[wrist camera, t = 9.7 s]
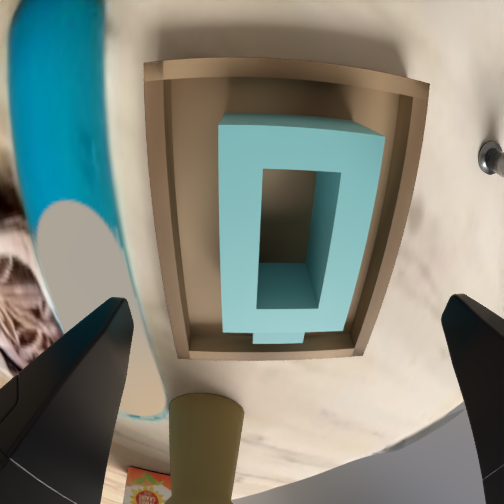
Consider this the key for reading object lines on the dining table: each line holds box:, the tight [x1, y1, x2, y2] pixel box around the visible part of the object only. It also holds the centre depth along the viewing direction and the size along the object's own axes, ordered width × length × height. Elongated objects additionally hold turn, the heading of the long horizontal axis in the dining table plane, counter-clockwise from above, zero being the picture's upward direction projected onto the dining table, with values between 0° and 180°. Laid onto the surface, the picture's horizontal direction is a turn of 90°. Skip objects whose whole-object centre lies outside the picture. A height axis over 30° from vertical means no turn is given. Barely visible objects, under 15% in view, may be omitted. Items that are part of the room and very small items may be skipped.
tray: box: [144, 57, 430, 361], centre depth 14 cm, size 10×14×2 cm
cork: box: [164, 393, 244, 504], centre depth 18 cm, size 6×6×11 cm
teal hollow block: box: [218, 113, 385, 344], centre depth 12 cm, size 10×5×3 cm, turn 178°
